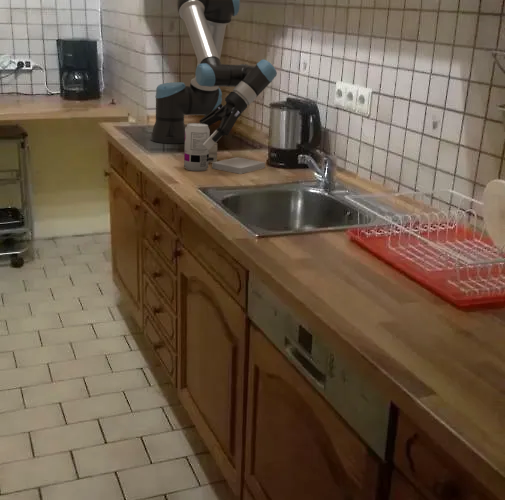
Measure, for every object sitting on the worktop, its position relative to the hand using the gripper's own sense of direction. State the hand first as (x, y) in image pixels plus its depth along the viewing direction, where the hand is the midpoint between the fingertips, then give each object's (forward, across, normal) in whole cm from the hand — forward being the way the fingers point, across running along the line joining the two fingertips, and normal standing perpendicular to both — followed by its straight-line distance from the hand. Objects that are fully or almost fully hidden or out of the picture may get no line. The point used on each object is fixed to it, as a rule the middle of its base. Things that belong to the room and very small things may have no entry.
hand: (197, 143), depth 228 cm
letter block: (-1, +13, -13) cm, 18 cm away
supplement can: (+6, +1, -6) cm, 9 cm away
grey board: (-5, -1, -17) cm, 18 cm away
